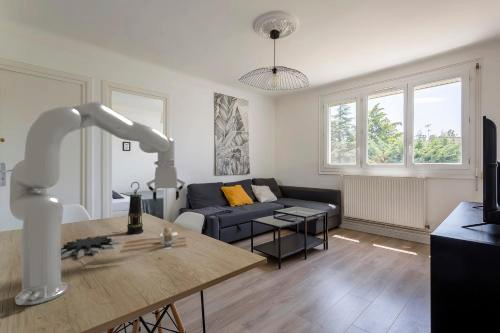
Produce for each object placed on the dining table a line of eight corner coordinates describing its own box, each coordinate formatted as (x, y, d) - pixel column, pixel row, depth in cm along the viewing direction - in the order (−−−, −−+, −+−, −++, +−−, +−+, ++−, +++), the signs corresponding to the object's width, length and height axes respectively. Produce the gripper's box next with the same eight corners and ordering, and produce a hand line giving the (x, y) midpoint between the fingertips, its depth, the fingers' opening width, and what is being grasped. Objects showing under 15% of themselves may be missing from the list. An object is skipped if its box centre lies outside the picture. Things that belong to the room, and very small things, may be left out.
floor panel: (186, 249, 119) (186, 247, 119) (118, 256, 111) (118, 253, 111) (184, 237, 138) (184, 235, 138) (127, 242, 130) (127, 240, 130)
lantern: (135, 235, 144) (135, 182, 143) (122, 233, 147) (122, 182, 146) (146, 231, 152) (146, 181, 152) (134, 230, 155) (133, 181, 155)
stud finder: (177, 242, 126) (177, 234, 126) (160, 244, 123) (160, 235, 123) (177, 239, 130) (177, 231, 130) (160, 241, 128) (160, 233, 128)
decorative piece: (88, 231, 138) (136, 234, 132) (88, 238, 138) (136, 242, 132) (29, 250, 109) (88, 255, 103) (30, 259, 109) (88, 264, 103)
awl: (171, 246, 119) (171, 229, 119) (164, 247, 118) (164, 229, 118) (171, 244, 123) (171, 227, 123) (164, 245, 122) (164, 227, 122)
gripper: (145, 164, 114) (145, 202, 114) (185, 164, 119) (185, 200, 119) (147, 164, 121) (147, 199, 121) (184, 164, 126) (184, 198, 126)
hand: (166, 200), depth 120 cm, fingers open, 9 cm apart
